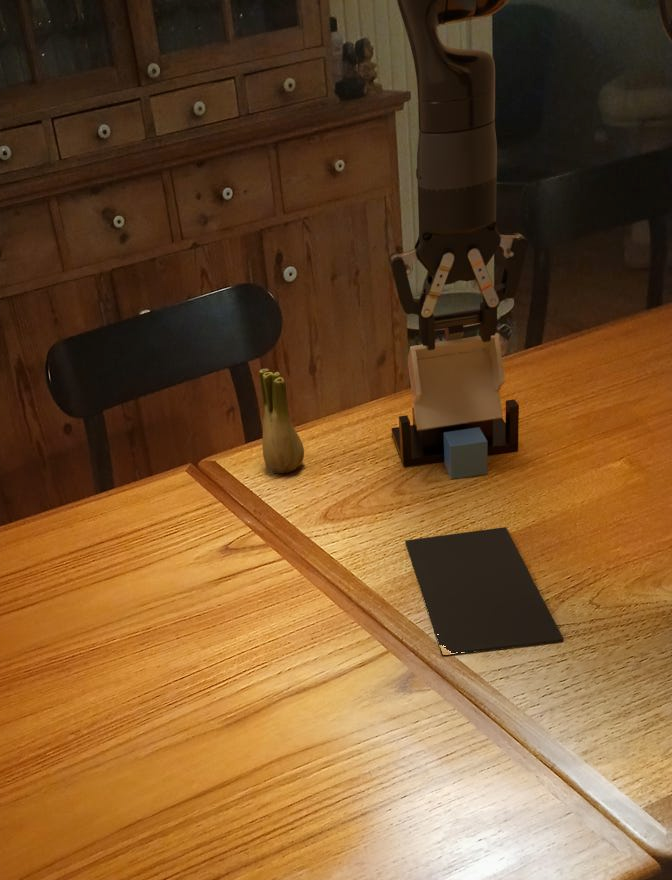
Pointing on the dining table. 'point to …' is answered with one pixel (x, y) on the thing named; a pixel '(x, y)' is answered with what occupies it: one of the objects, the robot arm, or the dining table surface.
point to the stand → (431, 442)
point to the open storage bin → (456, 375)
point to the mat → (480, 592)
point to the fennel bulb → (278, 426)
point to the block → (465, 453)
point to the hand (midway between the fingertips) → (457, 343)
